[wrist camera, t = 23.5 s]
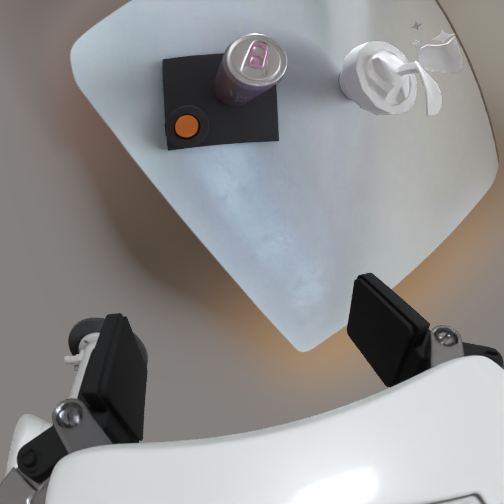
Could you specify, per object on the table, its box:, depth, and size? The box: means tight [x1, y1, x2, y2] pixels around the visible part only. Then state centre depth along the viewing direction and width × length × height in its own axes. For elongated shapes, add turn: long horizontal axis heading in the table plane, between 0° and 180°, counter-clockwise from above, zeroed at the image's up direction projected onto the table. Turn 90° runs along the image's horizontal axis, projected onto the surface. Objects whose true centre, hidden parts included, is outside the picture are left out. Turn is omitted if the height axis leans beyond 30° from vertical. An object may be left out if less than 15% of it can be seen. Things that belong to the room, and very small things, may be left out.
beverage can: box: [214, 34, 287, 106], centre depth 26 cm, size 6×6×15 cm
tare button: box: [175, 115, 198, 138], centre depth 32 cm, size 3×3×2 cm
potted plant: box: [339, 21, 462, 116], centre depth 26 cm, size 13×12×25 cm
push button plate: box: [163, 54, 279, 151], centre depth 33 cm, size 16×14×3 cm
